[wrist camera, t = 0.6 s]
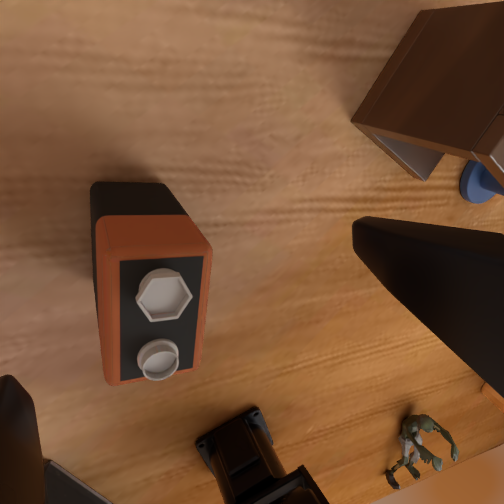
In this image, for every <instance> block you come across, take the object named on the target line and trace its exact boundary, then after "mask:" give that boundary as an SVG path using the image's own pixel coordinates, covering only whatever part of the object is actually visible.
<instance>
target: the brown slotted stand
mask: <svg viewBox="0 0 504 504" xmlns="http://www.w3.org/2000/svg"><path fill="white" fill-rule="evenodd" d="M351 122H352V123H353V124H354V125H355V126H356V127H358V128H359V129H360V130H361V131H362V132H363V133H364V134H365V135H367V136H368V137H369V138H370V139H371V140H372V141H373V142H374V143H376V144H377V145H378V146H379V147H380V148H381V149H382V150H383V151H385V152H386V153H387V154H388V155H389V156H390V157H391V158H393V159H394V160H395V161H396V162H397V163H398V164H399V165H400V166H402V167H403V168H404V169H405V170H406V171H407V172H408V173H409V174H411V175H412V176H413V177H414V178H417V179H419V180H422V181H426V180H427V178H428V177H429V175H430V174H431V173H432V171H433V170H434V168H435V167H436V165H437V164H438V163H439V161H440V160H441V158H442V157H443V155H444V154H445V153H447V154H451V155H454V156H458V157H462V158H466V159H469V160H473V161H477V162H481V163H482V164H483V165H484V166H485V167H486V168H487V169H488V171H489V172H490V173H491V174H492V175H493V176H494V178H495V179H496V180H497V181H498V182H499V183H500V184H501V186H502V187H503V188H504V1H501V2H492V3H484V4H475V5H466V6H457V7H448V8H440V9H430V10H421V11H420V13H419V14H418V16H417V18H416V19H415V21H414V22H413V24H412V25H411V27H410V29H409V30H408V32H407V33H406V35H405V36H404V38H403V40H402V41H401V43H400V44H399V46H398V48H397V49H396V51H395V52H394V54H393V55H392V57H391V59H390V60H389V62H388V63H387V65H386V66H385V68H384V70H383V71H382V73H381V74H380V76H379V77H378V79H377V81H376V82H375V84H374V85H373V87H372V88H371V90H370V92H369V93H368V95H367V96H366V98H365V100H364V101H363V103H362V104H361V106H360V107H359V109H358V111H357V112H356V114H355V115H354V117H353V118H352V120H351Z"/></svg>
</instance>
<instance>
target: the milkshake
mask: <svg viewBox="0 0 504 504" xmlns="http://www.w3.org/2000/svg"><path fill="white" fill-rule="evenodd" d="M481 392H482V394H483V395H484V396H485V397H486V398H488V399H489V400H490V401H491V402H492V403H493V404H494V405H495V406H496V407H497V408H498V409H499V410H500V411H502V412H503V413H504V398H503V397H501V396H500V395H499V394H498V393H497V392H496V391H495V390H494V389H493V388H492V387H491V386H490V385H489V384H488V383H485V384H484V385H483V387H482V390H481Z"/></svg>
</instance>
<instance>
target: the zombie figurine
mask: <svg viewBox="0 0 504 504" xmlns="http://www.w3.org/2000/svg"><path fill="white" fill-rule="evenodd" d="M434 427H435V428H434ZM402 428H403V429H402V433H401V435H400V436H399V438H398V439H399V441H400V443H401V445H402V455H403V457H402V459H400V460H399V461H397V462H398V464H396V465H395V466H393V467H392V468H391V469H392V470H388V471H387V473H386V478H387V480H388V483H389V484H390V485H391V486H392V488H393V489H400V485H399V484H398V483H397V482H396V480H395V478H394V476H393V473H394V472H395V471H396V470H397V469H398V468H400V467H401V466H404V465H405V466H406V468H407V469H408V470H409V472H410V473H411V474H412V476H413V477H414V478H415V479H416V480H418V478H419V479H420V473H419V471H418V470H417V469H416V468H414V467H413V466H412V465H413V463H417V461H418V459H419V457H420V458H421V459H422V460H424V463H426V459H428V461H427V464H429V463H430V461H431V459H432V465H433V467H434V469H435V470H436V471H441V469H442V464H443V462H442V459H441V458H438V457H436V456H434V455H433V454H432V453H431V452H429V451H428V450H427V449H426V448H425V447H424V446H422V438H421V436H420V434H419V430H420V429H423V430H424V431H425V432H432V431H433V430H435V429H436V430H437V432H440V433H441V434H442V436H443V437H444V438H445V439H446V440H447V441H448V442H449V443H450V444H452V446H451V458H453V460H454V461H456V460H457V459H458V454H459V450H458V449H457V447H456V445H455V443H454V441H453V439H452V437H451V435H450V434H449V432H448V431H447V430H445V429H443V428H442V427H441V426H440V425H439V424H438V423H436V422H435V421H434V420H433V419H432V418H431V417H429V415H428V416H427V415H426V414H421V415H412V416H410V417H408V418H407V419H406V420H404V421H403V422H402ZM419 428H420V429H419ZM412 445H414V452H412V453H410V455H409V454H408V452H409V449H410V447H411V446H412ZM409 456H410V459H409ZM408 459H409V463H408ZM417 477H418V478H417Z"/></svg>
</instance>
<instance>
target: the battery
mask: <svg viewBox="0 0 504 504" xmlns="http://www.w3.org/2000/svg"><path fill="white" fill-rule="evenodd" d="M90 211H91V237H92V263H93V283H94V292H95V301H96V310H97V319H98V327H99V336H100V345H101V354H102V363H103V371H104V377H105V380H106V382H107V383H108V384H109V385H111V386H116V385H122V384H127V383H133V382H138V381H143V380H149V379H150V380H154V381H158V380H163V379H166V378H168V377H170V376H171V375H175V374H180V373H186V372H191V371H195V370H196V369H197V368H198V367H199V365H200V362H201V356H202V347H203V338H204V329H205V320H206V310H207V301H208V292H209V283H210V274H211V264H212V247H211V245H210V244H209V242H208V241H207V240H206V238H205V237H204V236H203V234H202V233H201V232H200V230H199V229H198V228H197V226H196V225H195V224H194V222H193V221H192V219H191V218H190V217H189V215H188V214H187V213H186V211H185V210H184V209H183V207H182V206H181V205H180V203H179V202H178V201H177V199H176V198H175V197H174V195H173V194H172V192H171V191H170V190H169V188H168V187H167V186H166V185H165V184H162V183H129V182H95V183H94V184H92V186H91V188H90Z"/></svg>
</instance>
